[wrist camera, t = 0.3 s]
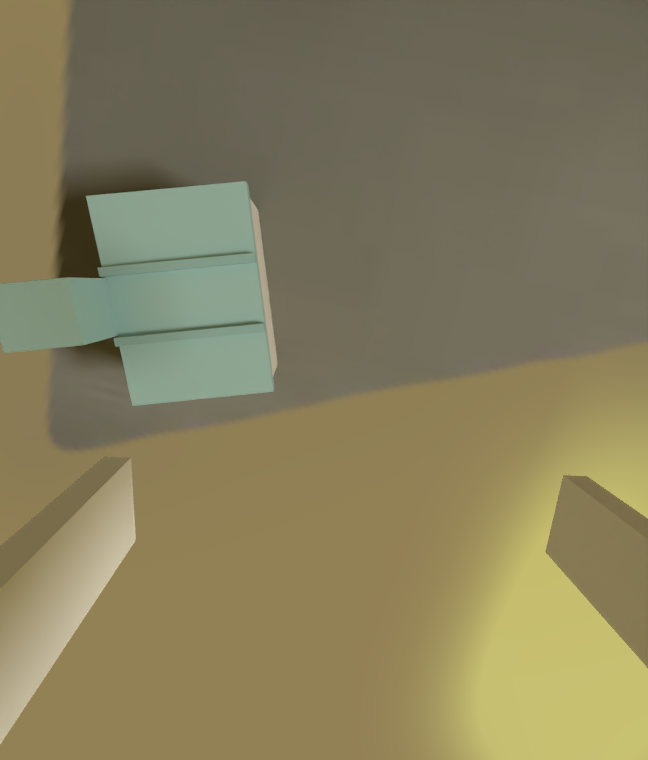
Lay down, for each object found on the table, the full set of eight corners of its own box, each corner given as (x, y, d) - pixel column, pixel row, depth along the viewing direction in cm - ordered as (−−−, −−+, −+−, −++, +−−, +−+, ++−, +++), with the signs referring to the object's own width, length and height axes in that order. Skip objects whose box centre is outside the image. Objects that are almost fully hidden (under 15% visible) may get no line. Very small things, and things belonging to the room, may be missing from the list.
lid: (32, 207, 28) (-46, 186, 21) (249, 187, 28) (233, 160, 22) (82, 404, 31) (28, 434, 25) (275, 385, 31) (267, 410, 25)
